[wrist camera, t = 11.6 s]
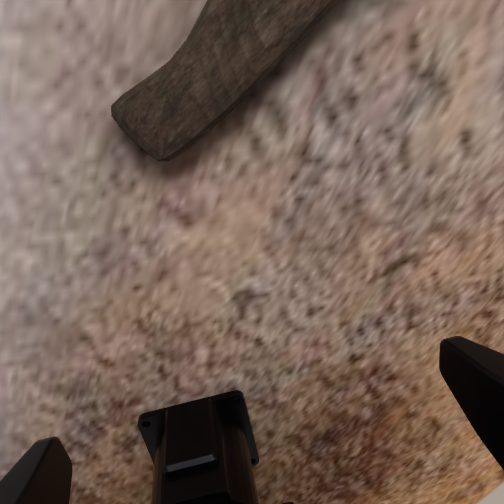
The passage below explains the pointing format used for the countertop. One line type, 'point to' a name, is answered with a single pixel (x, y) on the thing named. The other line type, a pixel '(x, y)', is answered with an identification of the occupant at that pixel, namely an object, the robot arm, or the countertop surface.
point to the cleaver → (213, 71)
